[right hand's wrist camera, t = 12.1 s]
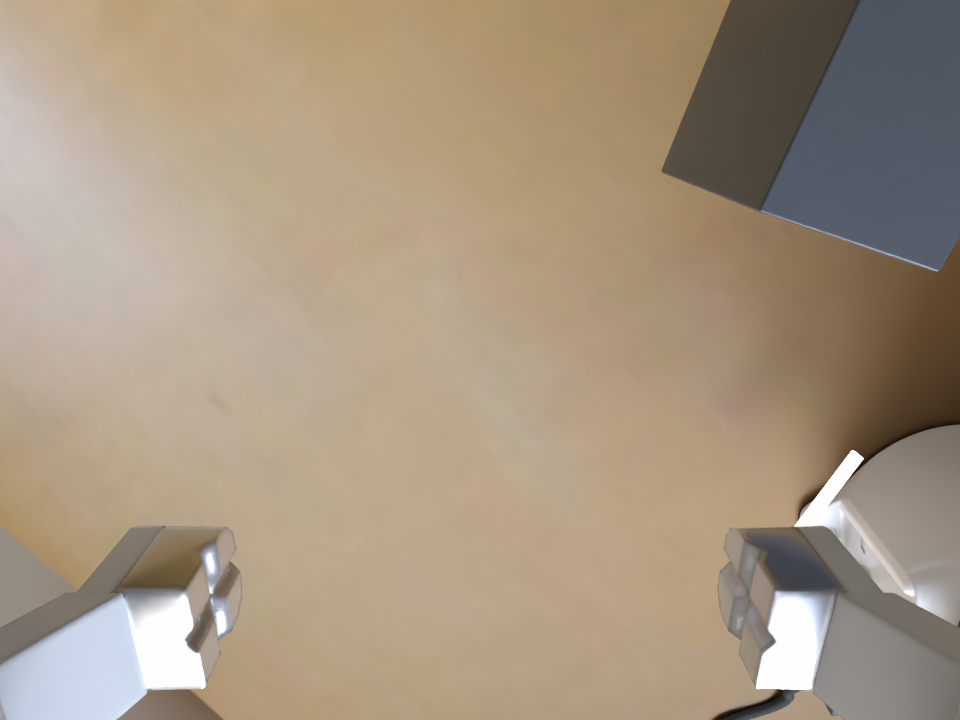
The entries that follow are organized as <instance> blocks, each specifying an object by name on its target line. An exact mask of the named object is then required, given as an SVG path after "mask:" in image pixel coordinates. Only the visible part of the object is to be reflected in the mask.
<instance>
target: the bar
mask: <svg viewBox="0 0 960 720" xmlns="http://www.w3.org/2000/svg"><path fill="white" fill-rule="evenodd" d="M662 173H665V174H667V175H669V176H672V177H674V178H677V179H679V180H682V181H684V182H687V183H689V184H692V185H694V186H696V187H699V188H701V189H704V190H706V191H709V192H711V193H714V194H716V195H719V196H721V197H724V198H726V199H728V200H731V201H733V202H736V203H738V204H741V205H743V206H746V207H748V208H751V209H753V210H755V211H758V212H760V213H763V214H766V215H769V216H772V217H775V218H778V219H781V220H784V221H787V222H790V223H793V224H796V225H799V226H802V227H805V228H808V229H811V230H814V231H816V232H819V233H822V234H825V235H828V236H831V237H834V238H837V239H840V240H843V241H846V242H849V243H852V244H855V245H858V246H861V247H864V248H867V249H870V250H873V251H875V252H878V253H881V254H884V255H887V256H890V257H893V258H896V259H899V260H902V261H905V262H908V263H911V264H914V265H917V266H920V267H923V268H926V269H929V270H932V271H935V272H937V271H939V270H940V269H941V267H942V266H943V264H944V262H945V260H946V259H947V257H948V255H949V254H950V252H951V250H952V249H953V247H954V245H955V244H956V242H957V240H958V239H959V237H960V0H731V1H730V4H729V6H728V9H727V11H726V13H725V16H724V18H723V21H722V23H721V26H720V28H719V31H718V33H717V36H716V38H715V40H714V43H713V45H712V48H711V50H710V53H709V55H708V58H707V60H706V63H705V65H704V67H703V70H702V72H701V75H700V77H699V80H698V82H697V85H696V87H695V90H694V92H693V94H692V97H691V99H690V102H689V104H688V107H687V109H686V112H685V114H684V116H683V119H682V121H681V124H680V126H679V129H678V131H677V134H676V136H675V139H674V141H673V143H672V146H671V148H670V151H669V153H668V156H667V158H666V161H665V163H664V166H663V168H662Z"/></svg>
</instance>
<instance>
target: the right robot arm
mask: <svg viewBox="0 0 960 720" xmlns="http://www.w3.org/2000/svg"><path fill="white" fill-rule="evenodd" d="M862 460H863V458H862V457H861V456H860V455H859V454H858V453H857V452H855V451H853V450H852V451H851V452H850V453H849V455H848V456H847V457H846V459H845V460H844V461H843V463H842V464H841V465H840V467H839V468H838V469H837V471H836V472H835V473H834V475H833V476H832V477H831V479H830V480H829V481H828V482H827V484H826V485H825V486H824V488H823V489H822V490H821V492H820V493H819V494H818V496H817V497H816V498H815V500H813V501H811V502H810V503H809V504H807V505H806V506H805V507H804V508H803V510H802V511H801V514H800V520H799V521H798V522H797V524H796V525H795V526H792V527H774V528H730V529H729V531H728V533H727V535H726V538H725V544H724V550H725V552H726V554H727V556H728V558H729V560H730V562H729V563H728V564H727V565H726V566H725V567H724V568H723V569H722V570H721V571H720V574H719V582H718V598H719V607H720V610H721V614H722V618H723V620H724V622H725V625H726V627H727V629H728V631H729V632H731V633H732V634H733V635H735V636H736V637H737V638H739V639H740V640H741V645H740V650H739V654H740V656H741V658H742V661H743V663H744V665H745V667H746V669H747V671H748V673H749V675H750V677H751V679H752V681H753V683H754V685H755V687H756V688H759V689H783V695H782V696H780V697H779V698H777V699H775V700H773V701H770V702H768V703H765V704H762V705H758V706H755V707H752V708H749V709H745V710H742V711H739V712H737V713H734V714H732V715H730V716H728V717H726V718H724V719H723V720H750V719H753V718H756V717H759V716H763V715H766V714H769V713H772V712H775V711H777V710H779V709H782V708H784V707H785V706H787V705H788V704H790V703H791V702H792V701H793V700H794V694H795V693H797V692H799V691H801V690H813V693H814V694H815V695H816V696H817V697H818V698H819V699H821V700H822V701H823V702H824V703H825V705H826V707H827V708H828V710H829V712H830V714H831V715H832V716H836V715H839V716H840V717H841V718H842V719H844V720H960V425H948V426H942V427H937V428H932V429H928V430H925V431H922V432H919V433H916V434H913V435H911V436H908V437H906V438H904V439H902V440H900V441H898V442H896V443H894V444H892V445H890V446H889V447H887V448H885V449H884V450H882V451H881V452H879V453H878V454H877V455H875V456H874V457H873V458H871V459H870V460H869V461H868V462H867V463H866V464H864V465H863V466H862V467H861V468H860V469H859V470H858V471H857V472H856V473H855V474H854V475H853V476H852V477H851V478H850V479H849V480H848V478H849V477H850V476H851V474H852V473H853V472H854V470H855V469H856V468H857V467H858V465H859V464H860V463H861V461H862ZM847 480H848V481H847ZM846 481H847V482H846ZM235 550H236V545H235V540H234V535H233V532H232V531H231V530H230V529H229V528H228V527H193V526H168V527H166V526H137V527H134V528H131V529H130V530H129V531H128V532H127V533H126V534H125V536H124V537H123V538H122V539H121V540H120V541H119V543H118V544H117V545H116V546H115V547H114V549H113V550H112V551H111V552H110V553H109V555H108V556H107V557H106V558H105V559H104V561H103V562H102V563H101V564H100V565H99V566H98V568H97V569H96V570H95V571H94V572H93V574H92V575H91V576H90V577H89V578H88V580H87V581H86V582H85V583H84V584H83V585H82V587H81V588H80V589H79V590H78V591H77V593H65V594H63V595H61V596H59V597H58V598H56V599H54V600H52V601H50V602H48V603H46V604H44V605H42V606H40V607H39V608H37V609H35V610H33V611H31V612H29V613H27V614H25V615H23V616H22V617H20V618H18V619H16V620H14V621H12V622H10V623H8V624H6V625H4V626H3V627H1V628H0V720H117V719H118V718H119V717H120V716H121V715H122V714H124V713H125V712H126V711H127V710H128V709H129V708H131V707H132V706H133V705H134V704H135V703H136V702H137V701H139V700H140V699H141V698H142V697H143V696H144V695H146V694H147V690H165V689H199V688H204V687H205V685H206V683H207V681H208V679H209V677H210V675H211V673H212V671H213V669H214V667H215V665H216V663H217V661H218V658H219V656H220V654H221V650H220V645H219V640H220V639H221V638H223V637H224V636H225V635H227V634H228V633H229V632H231V631H232V629H233V627H234V624H235V622H236V620H237V618H238V614H239V610H240V605H241V600H242V580H241V574H240V571H239V570H238V569H237V568H236V567H235V566H234V565H233V564H232V563H231V562H230V560H231V558H232V556H233V554H234V552H235Z"/></svg>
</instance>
